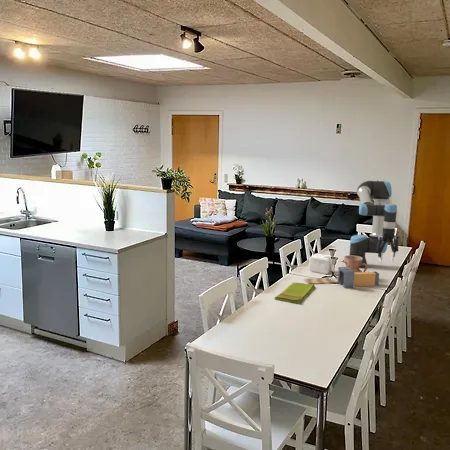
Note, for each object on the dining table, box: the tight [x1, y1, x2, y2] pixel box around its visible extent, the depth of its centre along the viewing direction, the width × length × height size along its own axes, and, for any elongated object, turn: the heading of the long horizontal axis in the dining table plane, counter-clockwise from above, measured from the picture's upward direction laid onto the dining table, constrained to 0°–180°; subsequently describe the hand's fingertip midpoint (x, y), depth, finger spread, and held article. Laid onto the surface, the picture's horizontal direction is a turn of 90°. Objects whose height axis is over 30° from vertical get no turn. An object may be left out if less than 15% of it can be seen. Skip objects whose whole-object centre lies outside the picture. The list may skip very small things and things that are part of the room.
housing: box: [337, 266, 354, 289], centre depth 301 cm, size 6×10×12 cm, turn 12°
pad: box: [303, 277, 338, 285], centre depth 309 cm, size 20×10×1 cm, turn 102°
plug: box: [353, 271, 380, 287], centre depth 304 cm, size 18×4×8 cm, turn 102°
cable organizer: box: [308, 253, 332, 275], centre depth 332 cm, size 15×11×12 cm
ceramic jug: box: [340, 254, 368, 272], centre depth 320 cm, size 18×14×14 cm
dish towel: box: [274, 282, 316, 305], centre depth 284 cm, size 15×36×3 cm, turn 154°
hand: (386, 261), depth 305 cm, fingers open, 8 cm apart
